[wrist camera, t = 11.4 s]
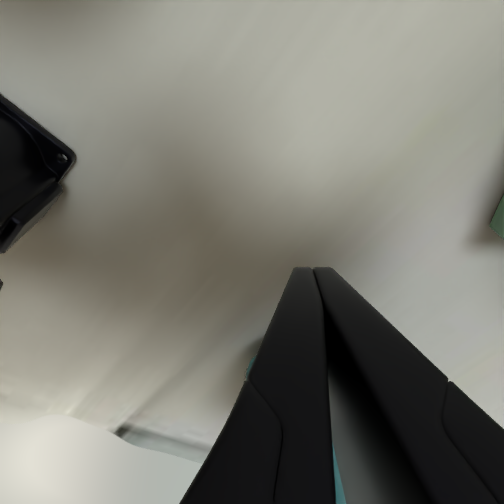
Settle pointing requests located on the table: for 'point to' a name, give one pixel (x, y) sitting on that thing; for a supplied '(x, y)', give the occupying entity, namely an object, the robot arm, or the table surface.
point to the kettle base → (499, 219)
